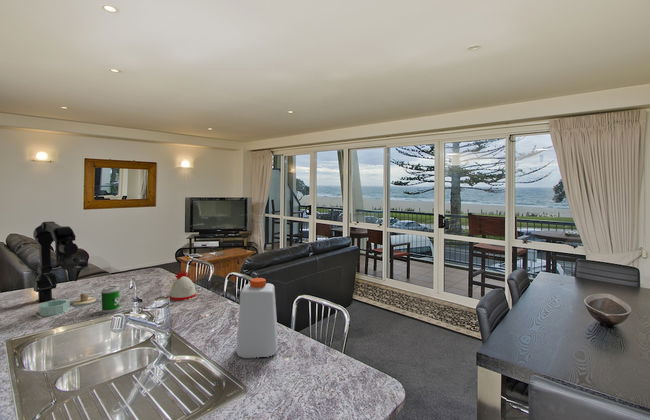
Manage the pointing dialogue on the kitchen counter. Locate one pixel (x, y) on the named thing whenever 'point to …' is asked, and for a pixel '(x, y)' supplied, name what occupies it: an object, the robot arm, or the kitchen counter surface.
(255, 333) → the plastic bottle
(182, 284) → the kitchen timer
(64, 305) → the bowl
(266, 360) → the kitchen counter surface
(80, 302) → the lid
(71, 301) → the mat
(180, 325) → the kitchen counter surface
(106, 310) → the soda can
